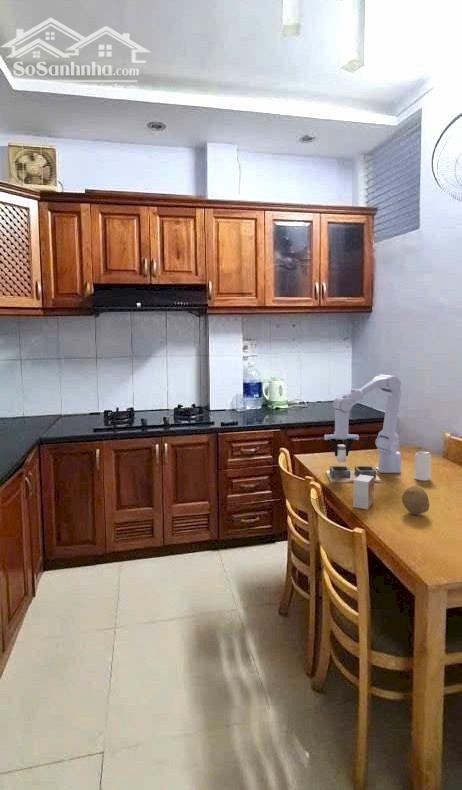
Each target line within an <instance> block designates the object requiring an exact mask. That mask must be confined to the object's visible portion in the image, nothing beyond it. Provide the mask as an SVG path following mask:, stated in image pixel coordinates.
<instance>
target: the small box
mask: <svg viewBox="0 0 462 790" xmlns="http://www.w3.org/2000/svg"><path fill="white" fill-rule="evenodd" d="M352 492H353V496H352V498H353V499H352V503H353V504H352V507H353V508H356V509H362V510H369V509H370V508H371V506H372V505H374V504H375V503H374V497H375V496H374V495H375V482H374V476H368V475H361V474H360V475H359V476H358V477H357V478H356V479H354V482H353V491H352Z"/></svg>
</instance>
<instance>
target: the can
mask: <svg viewBox="0 0 462 790" xmlns="http://www.w3.org/2000/svg"><path fill="white" fill-rule="evenodd" d="M413 475H414V479H415V480H417V481H420V482H427V481H430V480H431V475H432V454H431V451H429V450H426V449H425V450H423V449H421V450H420V449H419V450H416V453H415V454H414V474H413Z"/></svg>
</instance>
